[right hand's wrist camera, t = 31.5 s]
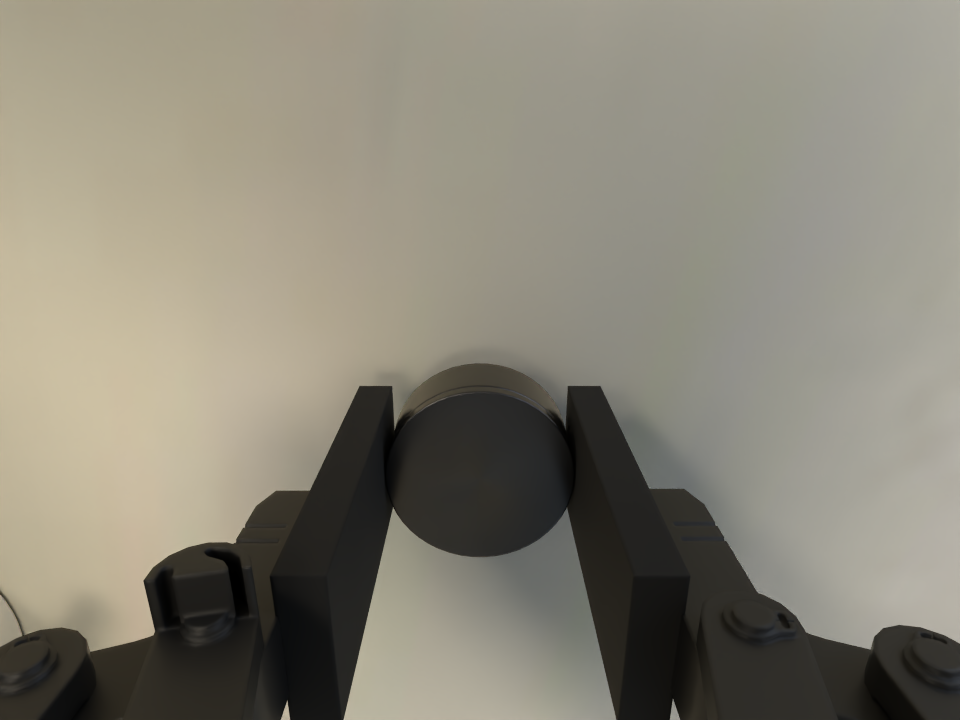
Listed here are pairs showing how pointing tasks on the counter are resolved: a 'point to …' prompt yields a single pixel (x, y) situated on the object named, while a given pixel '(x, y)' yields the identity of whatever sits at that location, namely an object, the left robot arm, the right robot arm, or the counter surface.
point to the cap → (480, 461)
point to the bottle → (8, 624)
